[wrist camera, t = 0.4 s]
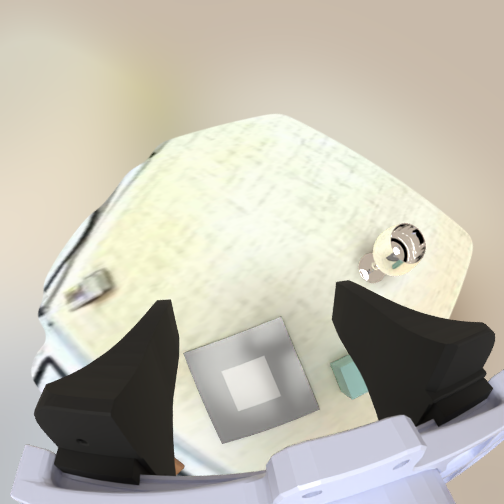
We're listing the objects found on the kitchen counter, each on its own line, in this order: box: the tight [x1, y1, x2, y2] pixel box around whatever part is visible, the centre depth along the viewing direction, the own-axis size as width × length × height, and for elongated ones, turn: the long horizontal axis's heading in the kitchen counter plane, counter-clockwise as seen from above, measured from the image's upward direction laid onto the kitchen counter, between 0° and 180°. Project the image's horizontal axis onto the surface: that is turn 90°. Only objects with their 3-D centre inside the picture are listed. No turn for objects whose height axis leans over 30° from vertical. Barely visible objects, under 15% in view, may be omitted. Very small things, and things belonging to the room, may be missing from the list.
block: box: [330, 355, 368, 400], centre depth 33 cm, size 4×4×6 cm
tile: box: [184, 317, 319, 444], centre depth 36 cm, size 14×14×1 cm
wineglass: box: [358, 223, 426, 283], centre depth 34 cm, size 6×6×12 cm
